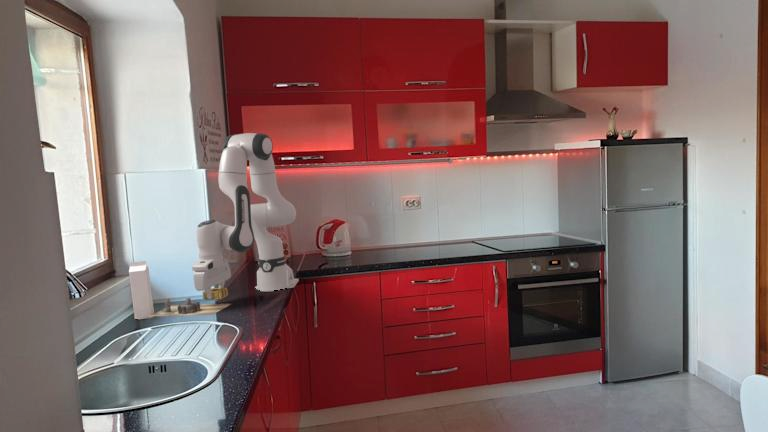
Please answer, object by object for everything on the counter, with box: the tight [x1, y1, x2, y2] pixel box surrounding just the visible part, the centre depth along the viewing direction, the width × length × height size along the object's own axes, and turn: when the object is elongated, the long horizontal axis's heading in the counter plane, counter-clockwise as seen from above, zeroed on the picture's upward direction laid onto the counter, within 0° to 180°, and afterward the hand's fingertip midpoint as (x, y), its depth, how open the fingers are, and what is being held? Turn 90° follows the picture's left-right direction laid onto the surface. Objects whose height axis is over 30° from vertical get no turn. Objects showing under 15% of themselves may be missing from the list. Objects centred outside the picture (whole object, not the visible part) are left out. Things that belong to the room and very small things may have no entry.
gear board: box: [147, 297, 232, 319], centre depth 201 cm, size 15×27×6 cm, turn 79°
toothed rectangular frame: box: [202, 287, 229, 301], centre depth 205 cm, size 6×8×3 cm
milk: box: [128, 260, 155, 320], centre depth 201 cm, size 6×6×22 cm
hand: (215, 295), depth 205 cm, fingers closed on toothed rectangular frame, 6 cm apart
